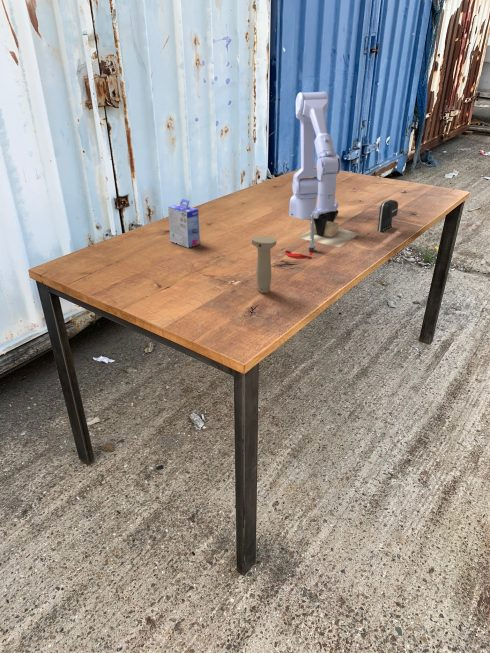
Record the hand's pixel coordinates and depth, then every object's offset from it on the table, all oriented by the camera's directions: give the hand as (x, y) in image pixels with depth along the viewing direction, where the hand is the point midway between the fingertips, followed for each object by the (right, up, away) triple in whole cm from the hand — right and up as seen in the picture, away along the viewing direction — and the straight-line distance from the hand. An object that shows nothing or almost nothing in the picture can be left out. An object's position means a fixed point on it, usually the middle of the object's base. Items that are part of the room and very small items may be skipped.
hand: (323, 233), depth 173 cm
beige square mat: (+2, -2, 0) cm, 3 cm away
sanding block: (0, 0, 0) cm, 0 cm away
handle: (-22, -23, -34) cm, 47 cm away
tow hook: (-9, -9, -11) cm, 17 cm away
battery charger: (+22, 0, +3) cm, 23 cm away
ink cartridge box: (-47, -4, -2) cm, 48 cm away
